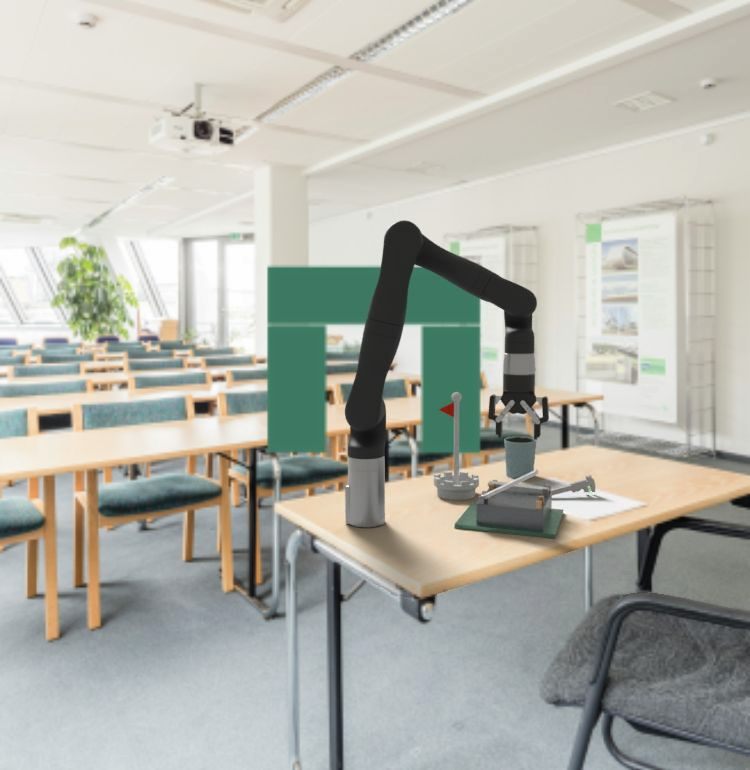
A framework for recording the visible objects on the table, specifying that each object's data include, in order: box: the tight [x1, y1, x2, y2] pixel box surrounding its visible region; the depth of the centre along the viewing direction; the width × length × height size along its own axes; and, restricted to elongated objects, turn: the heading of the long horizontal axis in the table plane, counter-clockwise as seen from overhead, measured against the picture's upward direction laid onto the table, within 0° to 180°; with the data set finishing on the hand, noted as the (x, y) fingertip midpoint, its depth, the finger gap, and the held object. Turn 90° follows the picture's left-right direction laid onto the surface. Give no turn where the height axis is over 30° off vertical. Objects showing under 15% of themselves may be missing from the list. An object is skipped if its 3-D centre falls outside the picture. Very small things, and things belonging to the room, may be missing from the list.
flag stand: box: [433, 391, 480, 501], centre depth 195 cm, size 13×13×30 cm
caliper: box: [551, 474, 596, 496], centre depth 193 cm, size 20×1×6 cm, turn 101°
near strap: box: [481, 468, 539, 499], centre depth 166 cm, size 16×3×1 cm, turn 69°
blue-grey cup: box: [503, 435, 538, 479], centre depth 217 cm, size 10×10×12 cm
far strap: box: [487, 480, 550, 493], centre depth 177 cm, size 16×3×1 cm, turn 70°
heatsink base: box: [454, 479, 565, 540], centre depth 171 cm, size 24×21×8 cm
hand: (518, 438), depth 165 cm, fingers open, 8 cm apart
